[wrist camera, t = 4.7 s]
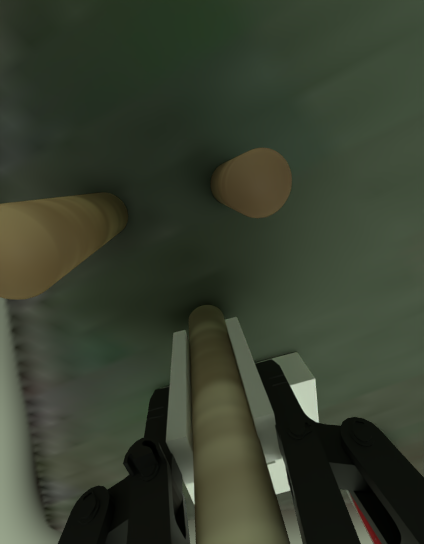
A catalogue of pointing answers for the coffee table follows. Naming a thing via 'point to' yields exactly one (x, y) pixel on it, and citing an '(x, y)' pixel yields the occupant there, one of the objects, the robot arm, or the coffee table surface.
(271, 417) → the robot arm
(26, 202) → the medium pin
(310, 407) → the plate
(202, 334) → the long pin
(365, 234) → the coffee table surface
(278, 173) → the short pin
